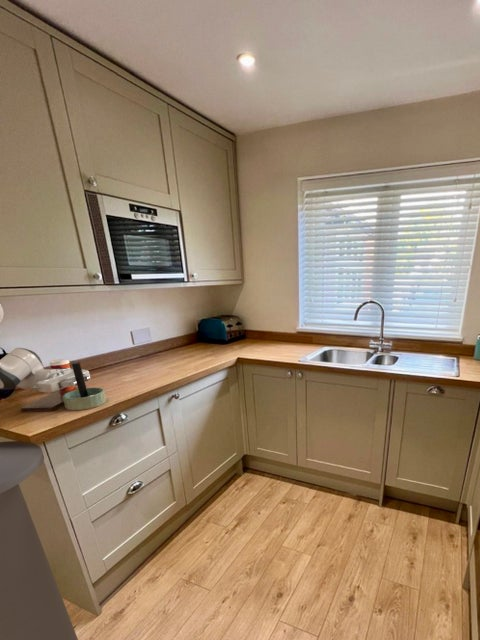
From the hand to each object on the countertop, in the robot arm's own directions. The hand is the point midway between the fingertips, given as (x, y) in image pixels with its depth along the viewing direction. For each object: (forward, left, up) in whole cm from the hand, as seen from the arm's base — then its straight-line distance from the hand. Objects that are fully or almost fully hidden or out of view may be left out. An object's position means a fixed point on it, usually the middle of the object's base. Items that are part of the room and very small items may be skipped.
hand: (82, 381), depth 133 cm
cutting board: (+3, +16, -10) cm, 19 cm away
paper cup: (+20, +22, -10) cm, 32 cm away
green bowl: (0, +1, -10) cm, 10 cm away
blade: (0, +1, -10) cm, 10 cm away
